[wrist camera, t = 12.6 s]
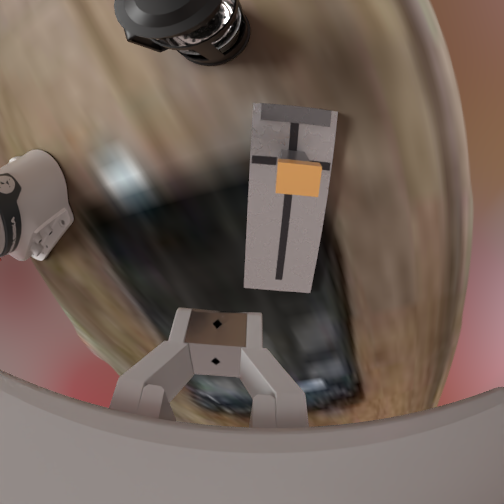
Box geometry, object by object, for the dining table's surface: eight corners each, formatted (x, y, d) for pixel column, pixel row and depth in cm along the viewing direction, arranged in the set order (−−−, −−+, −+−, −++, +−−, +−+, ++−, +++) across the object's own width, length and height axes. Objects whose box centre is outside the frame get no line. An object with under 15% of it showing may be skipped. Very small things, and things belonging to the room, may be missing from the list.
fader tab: (306, 171, 34) (318, 197, 25) (275, 168, 34) (275, 193, 25) (308, 149, 32) (322, 166, 24) (277, 145, 33) (278, 162, 24)
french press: (244, -7, 25) (206, -112, 5) (264, 52, 29) (249, -22, 9) (157, 23, 27) (43, -29, 7) (175, 80, 31) (56, 68, 11)
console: (309, 285, 45) (310, 297, 42) (245, 280, 45) (243, 292, 42) (334, 111, 32) (340, 112, 29) (254, 103, 32) (252, 102, 29)
